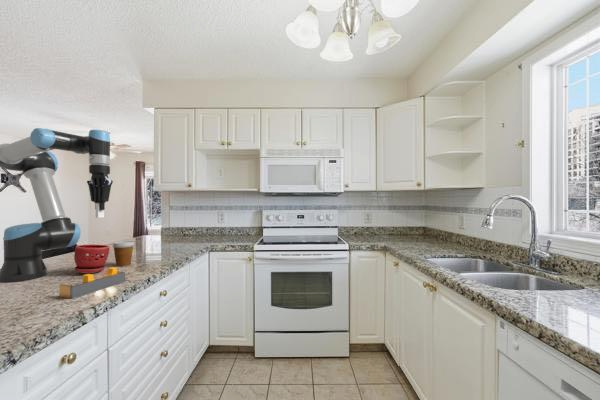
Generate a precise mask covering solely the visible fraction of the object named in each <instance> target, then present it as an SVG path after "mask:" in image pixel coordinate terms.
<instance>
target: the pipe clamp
mask: <svg viewBox="0 0 600 400" xmlns="http://www.w3.org/2000/svg"><path fill="white" fill-rule="evenodd" d="M106 271H107V272H106V274H105V275H103V276H100V277H99V278H98V279H100V278H103V277H107V276H110V275H114V274H117V271H118V267H113V266H111V267H108V268H107V270H106ZM94 277H95V276H94V273H85V274H83V275H82V283H86V282H89V281H93V280H96V279H95V278H94Z"/></svg>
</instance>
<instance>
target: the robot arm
mask: <svg viewBox="0 0 600 400" xmlns="http://www.w3.org/2000/svg"><path fill="white" fill-rule="evenodd" d="M52 150H53V151H54V150H60V151H66V152H72V153H75V154H81V155H85V154H88V156H89V159H88V161H89V165H88V171H89V172H88V173H89V174H91V177H90V180H87V181H86V184H87V185H88V190H89V195H90V200H91V201H90V202H92V203H94V206H95V208H94V209H95V218H96V219H97V218H98V219H101V218H105V207H106V206H105V204H106V202H109V200H110V194H111V188H112V184H113V183H114V181H113V180H112V179H111V180H110V179H109V176H108V175H110V174H111V167H110V166H111V156H110V153H111V137H110V132H108V131H106V130H102V129H90V130H89V131H88V135H87V136H83V135H76V134H72V133H67V132H61V131H57V130H54V129H53V130H52V129H48V128H39V127H37V128H33V130H32V131H31V132H30V135H29V136H28V137H25V138H22V139H20V140H17V141H14V142H11V143H2V144H0V168H2V169H4V170H9V171H17V172H22V173H23V176H24V177H25V178H26V179H29V181H30V185H31V189H32V190H33V194H34V197H35V200H36V203H37V207H38V210H39V213H40V217H41V220H42V221H41V222H33V223H32V222H31V223H23V224H17V225H13V226H9V227H7V228H5V229H4V231H3V232H4V233H3V238H2V240H3V264H2V265H1V268H0V283H12V282H22V281H29V280H33V279H38V278H41V277H43V276H47V274H48V273H47V272H48V268H47V266H46V265H45V263H44V260H43V258H42V253H43V251H50V250H56V249H65V248H69V247H74V246H76V244H78V242H79V240H80V238H81V233H82V231H81V227H80V225H79V224H78V223H76V222H72V219H71V218H70V217H69V216H66V214H65V210H64V207H63V204H62V201H61V198H60V196H59V192H58V188H57V185H56V183H55V180H54V177H53V176H54V175H55V174H56V172H57V170H58V168H59V162H58V159H57V157H56V155H55V154H54V153H53V152H51V151H52Z"/></svg>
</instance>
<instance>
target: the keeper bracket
mask: <svg viewBox="0 0 600 400" xmlns="http://www.w3.org/2000/svg"><path fill="white" fill-rule="evenodd" d="M102 277H103V276H102ZM99 278H100V277H99ZM99 278H97V279H95V280H93V281H89V282H86V283H83V282H82V283H79V284H75V285H68V284H59V297H61V298H67V299H76V298H79V297H81V296H85V295H88V294H91V293H96V292H98V291H101V290H103V289H104V290H105V289H106V288H110V287H114V286H116V285H119V284H123V283H125V282H126V272H125V271H118V270H117V274H114V275H110V276H107V277H103V278H100V279H99Z"/></svg>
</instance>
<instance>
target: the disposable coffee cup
mask: <svg viewBox="0 0 600 400" xmlns="http://www.w3.org/2000/svg"><path fill="white" fill-rule="evenodd" d="M134 246H135V243H134V241H132V240H122V241H121V240H120V241H115V242H113V243H112V248H113V252H114V258H115V265H116V267H117V268H119V267H128V266H130V265H131V264H132V258H133V257H132V256H133V252H134V251H133V249H134Z"/></svg>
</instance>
